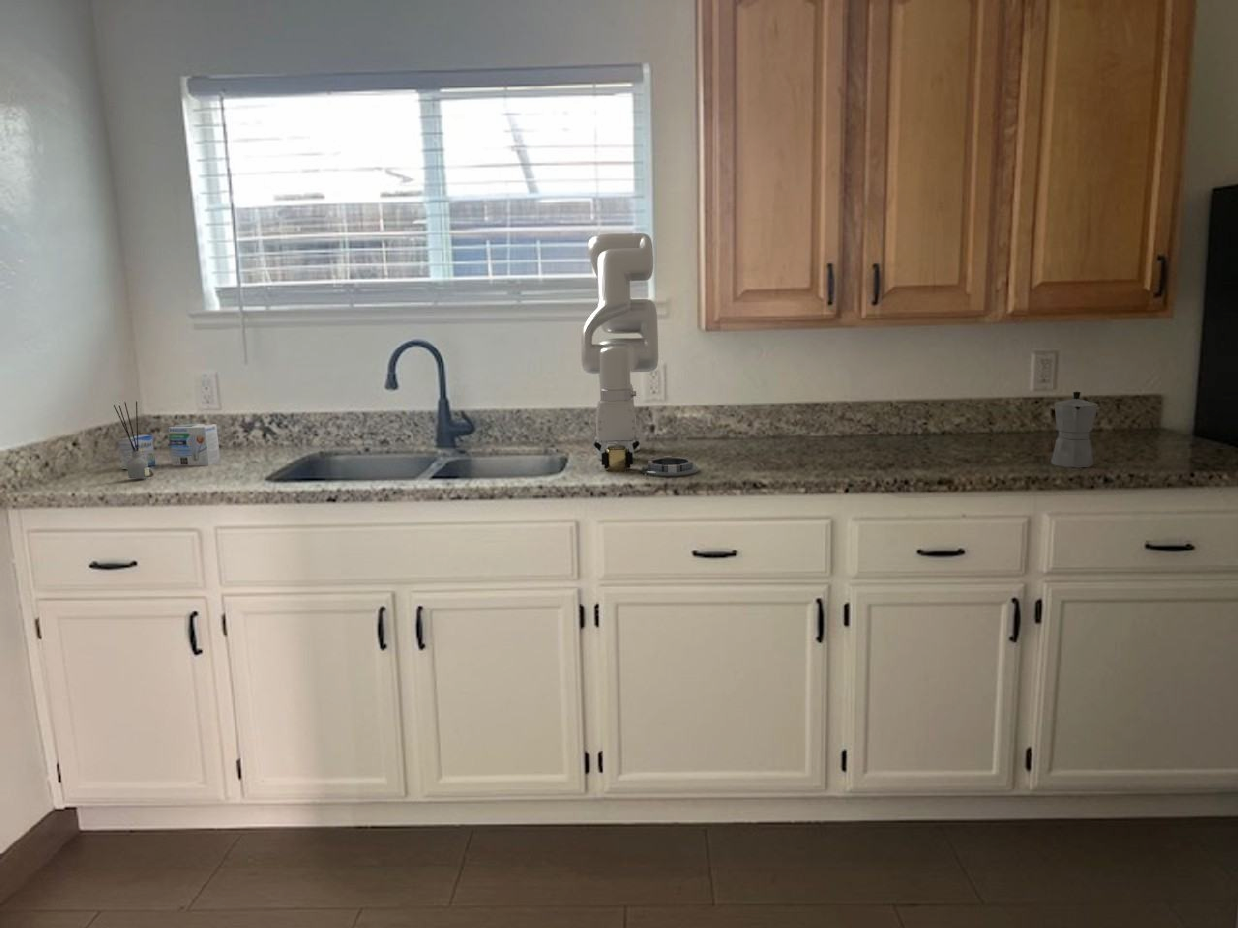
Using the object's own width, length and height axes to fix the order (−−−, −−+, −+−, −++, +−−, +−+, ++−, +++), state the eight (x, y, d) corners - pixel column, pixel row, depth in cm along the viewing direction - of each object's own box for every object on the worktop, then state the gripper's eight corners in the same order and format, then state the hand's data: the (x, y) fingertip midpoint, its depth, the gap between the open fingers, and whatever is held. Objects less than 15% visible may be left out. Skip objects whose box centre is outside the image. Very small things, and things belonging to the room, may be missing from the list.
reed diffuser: (139, 482, 221) (129, 403, 217) (112, 483, 221) (101, 404, 217) (160, 474, 231) (151, 398, 227) (134, 475, 231) (124, 399, 227)
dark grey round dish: (640, 467, 226) (640, 456, 225) (694, 465, 226) (694, 455, 226) (643, 478, 212) (643, 466, 212) (701, 476, 213) (701, 465, 212)
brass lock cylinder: (606, 467, 226) (606, 443, 225) (627, 467, 226) (626, 442, 225) (607, 471, 221) (606, 446, 220) (627, 471, 221) (627, 446, 220)
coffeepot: (1095, 470, 209) (1101, 394, 206) (1051, 468, 213) (1056, 394, 209) (1090, 459, 223) (1095, 388, 220) (1048, 457, 227) (1053, 387, 223)
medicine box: (135, 470, 238) (131, 438, 236) (121, 470, 239) (117, 438, 237) (156, 465, 246) (152, 434, 244) (141, 465, 247) (138, 434, 245)
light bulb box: (171, 466, 244) (167, 427, 242) (184, 461, 250) (180, 424, 248) (209, 465, 243) (205, 426, 241) (221, 461, 250) (217, 423, 248)
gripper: (648, 393, 224) (649, 463, 228) (581, 395, 224) (583, 465, 227) (650, 396, 217) (651, 469, 220) (581, 398, 216) (583, 471, 220)
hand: (617, 466), depth 224 cm, fingers closed on brass lock cylinder, 5 cm apart
